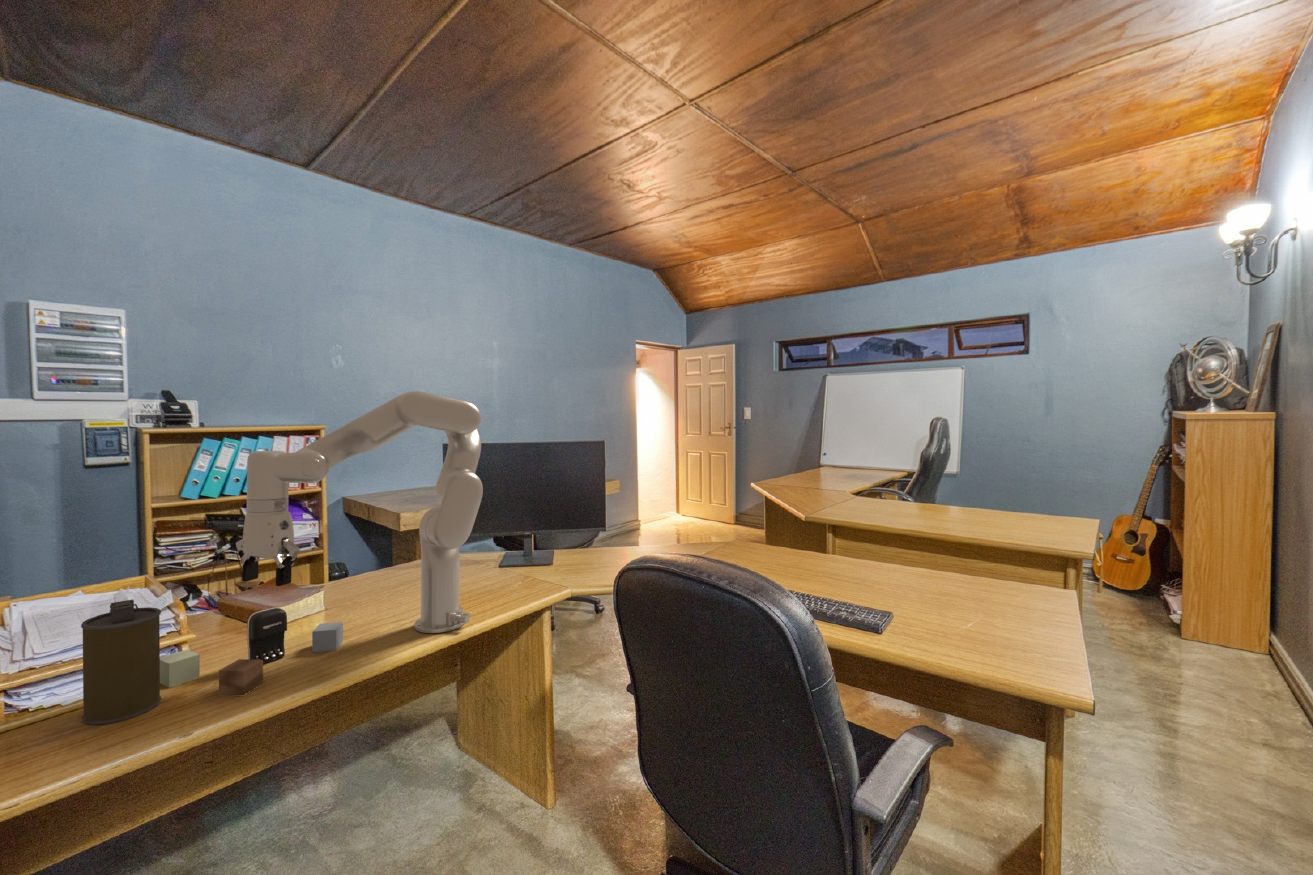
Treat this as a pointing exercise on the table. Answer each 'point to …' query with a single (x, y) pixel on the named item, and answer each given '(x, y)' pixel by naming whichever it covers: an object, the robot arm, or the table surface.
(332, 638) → the slate cube
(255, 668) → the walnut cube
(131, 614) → the canister
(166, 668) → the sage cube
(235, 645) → the table surface
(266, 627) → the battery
